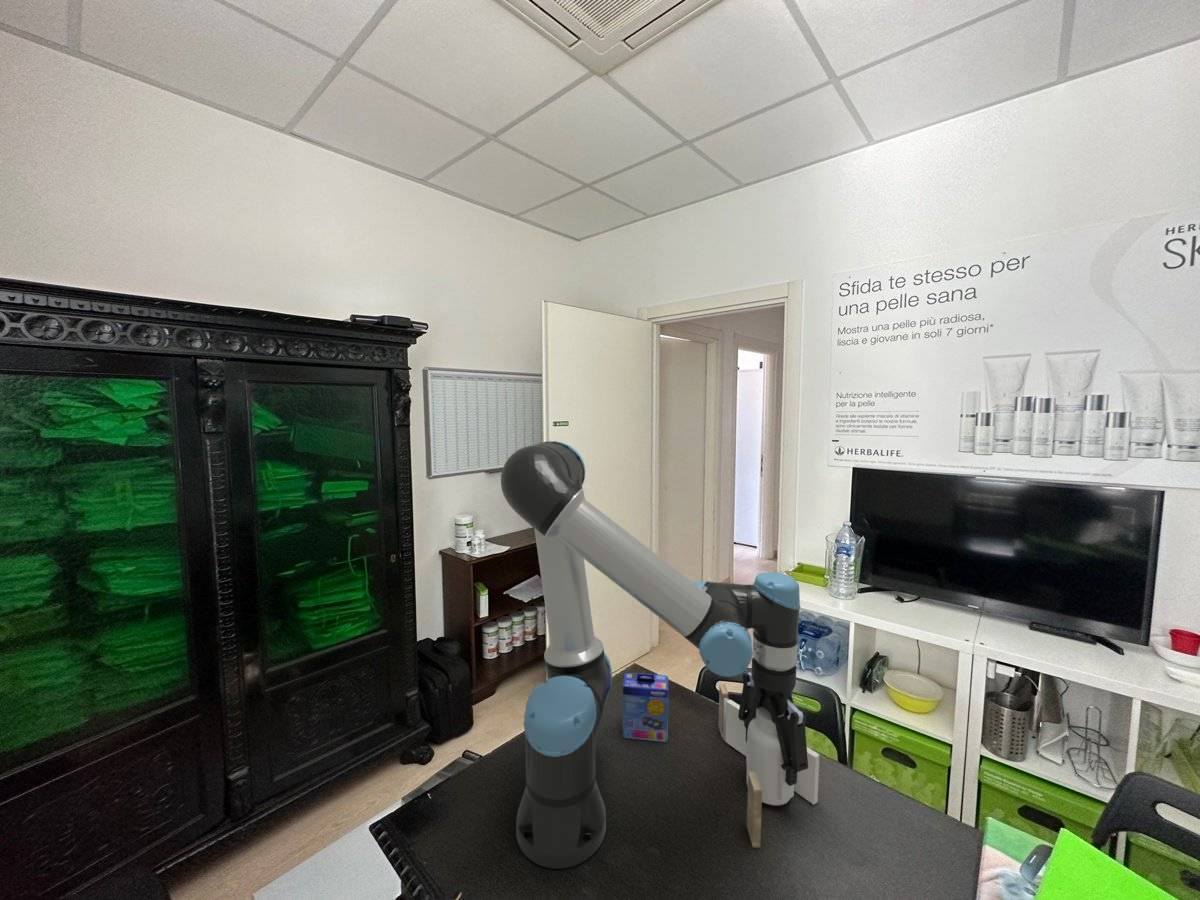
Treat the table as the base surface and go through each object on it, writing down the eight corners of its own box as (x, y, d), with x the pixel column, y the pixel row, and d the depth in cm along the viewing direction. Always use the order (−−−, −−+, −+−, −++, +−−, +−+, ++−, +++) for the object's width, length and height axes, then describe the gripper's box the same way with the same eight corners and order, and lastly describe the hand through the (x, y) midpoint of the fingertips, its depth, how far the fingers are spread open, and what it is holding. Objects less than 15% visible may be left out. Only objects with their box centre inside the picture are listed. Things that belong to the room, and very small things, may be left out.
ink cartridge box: (621, 739, 100) (621, 675, 99) (623, 722, 106) (623, 661, 105) (668, 743, 99) (669, 678, 98) (667, 726, 105) (668, 664, 103)
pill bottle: (784, 773, 90) (787, 699, 88) (797, 809, 82) (801, 729, 80) (742, 770, 91) (744, 697, 89) (751, 805, 83) (753, 726, 81)
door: (813, 804, 83) (815, 757, 83) (721, 739, 100) (722, 699, 99) (817, 801, 84) (819, 754, 83) (725, 736, 101) (726, 697, 100)
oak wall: (752, 847, 76) (754, 789, 75) (718, 726, 105) (719, 683, 104) (760, 847, 76) (762, 790, 75) (724, 726, 104) (725, 683, 104)
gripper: (721, 637, 92) (717, 746, 94) (802, 698, 73) (795, 833, 75) (752, 631, 95) (748, 737, 97) (838, 688, 76) (830, 818, 78)
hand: (768, 779), depth 86 cm, fingers closed on pill bottle, 8 cm apart
